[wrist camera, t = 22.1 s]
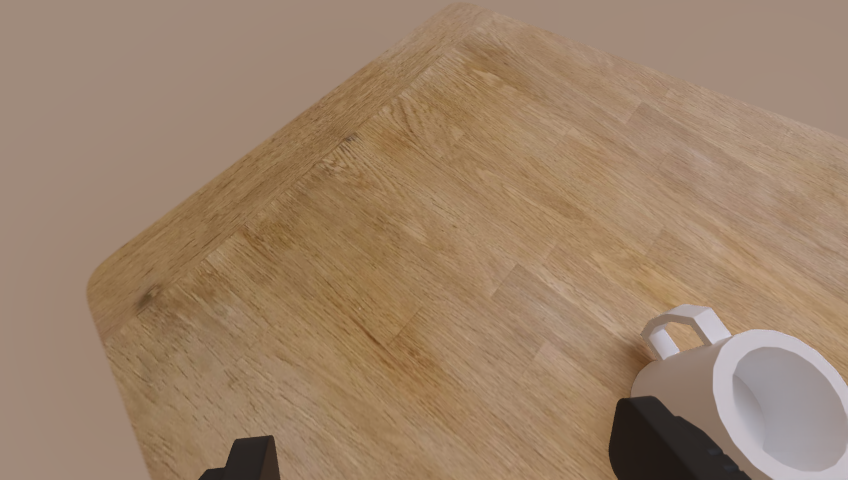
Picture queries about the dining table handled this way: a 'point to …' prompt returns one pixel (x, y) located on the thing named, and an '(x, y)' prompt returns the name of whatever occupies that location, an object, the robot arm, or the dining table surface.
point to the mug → (752, 396)
